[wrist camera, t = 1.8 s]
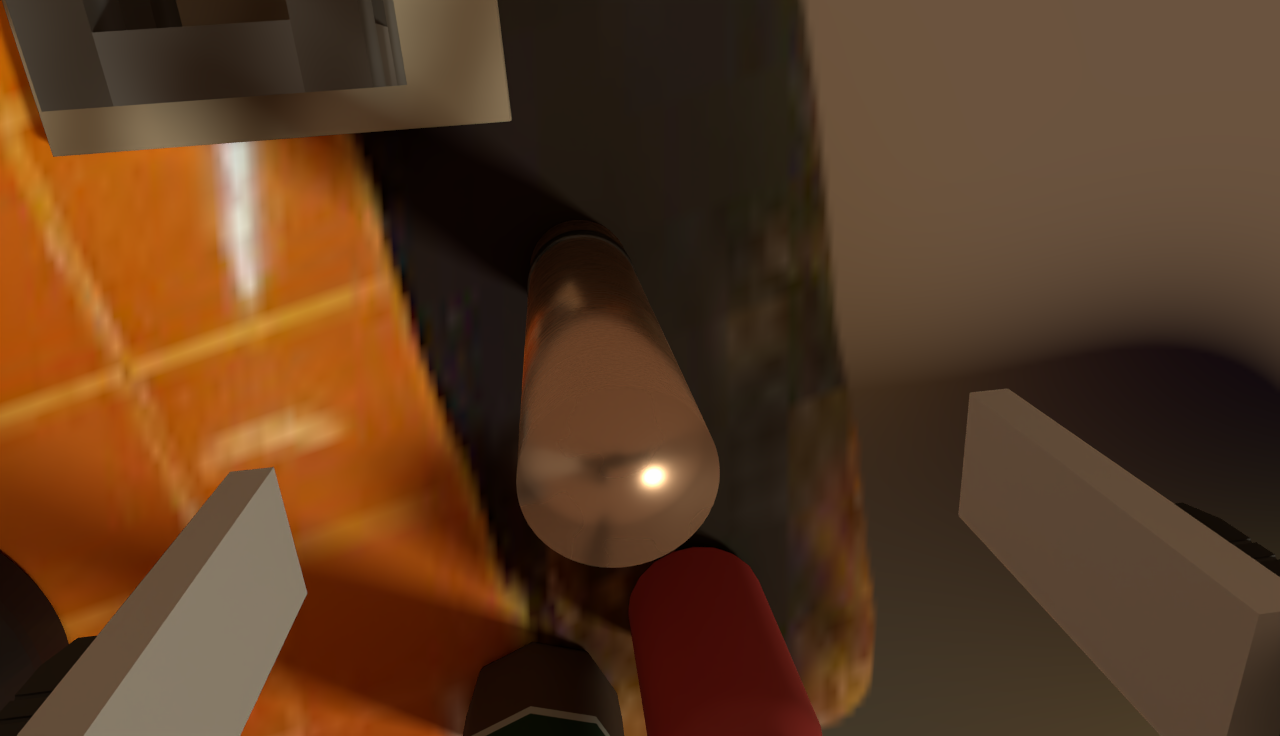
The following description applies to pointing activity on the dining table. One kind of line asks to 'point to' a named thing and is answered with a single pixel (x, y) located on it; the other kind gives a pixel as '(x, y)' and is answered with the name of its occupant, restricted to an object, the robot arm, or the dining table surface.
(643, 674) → the beer can
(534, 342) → the copper tube
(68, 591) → the dining table surface
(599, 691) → the beer bottle
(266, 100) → the collar stand
